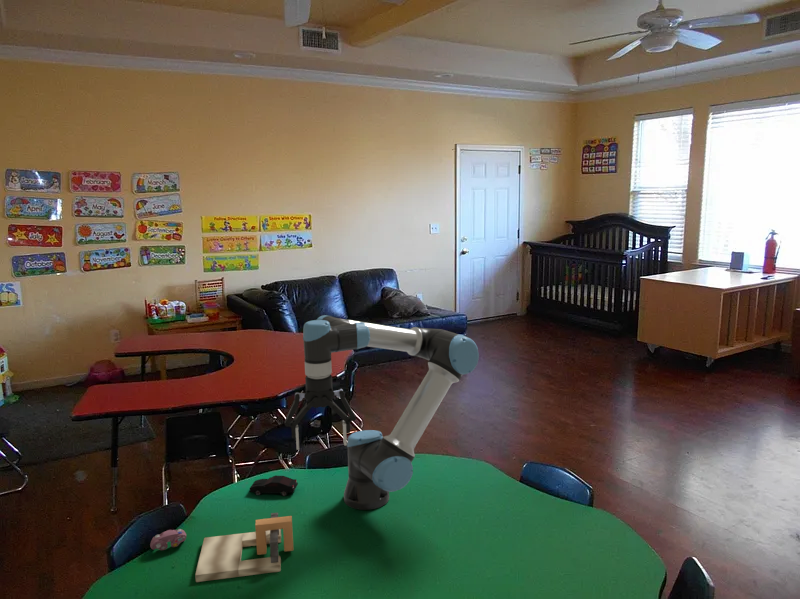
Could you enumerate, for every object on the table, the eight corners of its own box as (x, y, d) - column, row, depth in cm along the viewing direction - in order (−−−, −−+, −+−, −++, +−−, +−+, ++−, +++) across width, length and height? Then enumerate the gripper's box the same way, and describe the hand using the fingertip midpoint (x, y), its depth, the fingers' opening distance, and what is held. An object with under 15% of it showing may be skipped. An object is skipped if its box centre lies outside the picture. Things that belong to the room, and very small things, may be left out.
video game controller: (151, 558, 170) (151, 544, 166) (149, 545, 173) (148, 530, 170) (187, 548, 175) (188, 534, 171) (185, 535, 178) (185, 521, 174)
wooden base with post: (281, 534, 178) (279, 510, 177) (280, 571, 161) (279, 544, 159) (204, 544, 174) (202, 518, 173) (195, 582, 157) (193, 554, 155)
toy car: (255, 487, 209) (254, 473, 208) (298, 488, 207) (298, 475, 206) (248, 496, 202) (247, 482, 201) (293, 497, 201) (292, 484, 200)
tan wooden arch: (293, 544, 171) (291, 515, 170) (293, 550, 168) (291, 521, 167) (257, 548, 170) (255, 519, 168) (257, 554, 167) (255, 525, 165)
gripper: (360, 368, 174) (362, 436, 178) (273, 374, 170) (277, 444, 173) (364, 375, 167) (366, 446, 170) (273, 382, 162) (277, 455, 166)
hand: (321, 445), depth 172 cm, fingers open, 13 cm apart
